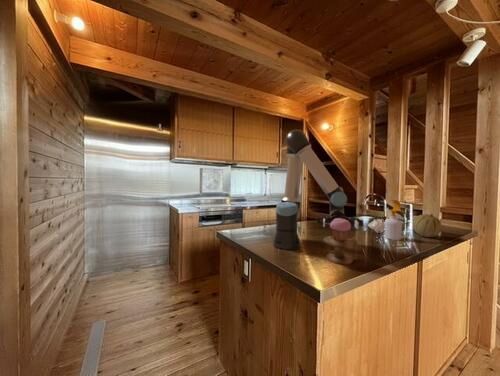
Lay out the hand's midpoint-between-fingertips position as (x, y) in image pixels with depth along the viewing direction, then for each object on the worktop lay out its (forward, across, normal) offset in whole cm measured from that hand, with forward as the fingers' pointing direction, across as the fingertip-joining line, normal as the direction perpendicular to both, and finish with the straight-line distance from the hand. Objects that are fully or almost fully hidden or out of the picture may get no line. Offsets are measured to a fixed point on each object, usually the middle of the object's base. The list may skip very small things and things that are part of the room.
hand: (340, 224), depth 95 cm
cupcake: (-3, 0, -8) cm, 8 cm away
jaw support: (-73, -30, -17) cm, 81 cm away
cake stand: (-3, 0, -16) cm, 17 cm away
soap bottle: (-55, -34, -17) cm, 67 cm away
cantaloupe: (-67, -56, -17) cm, 89 cm away
